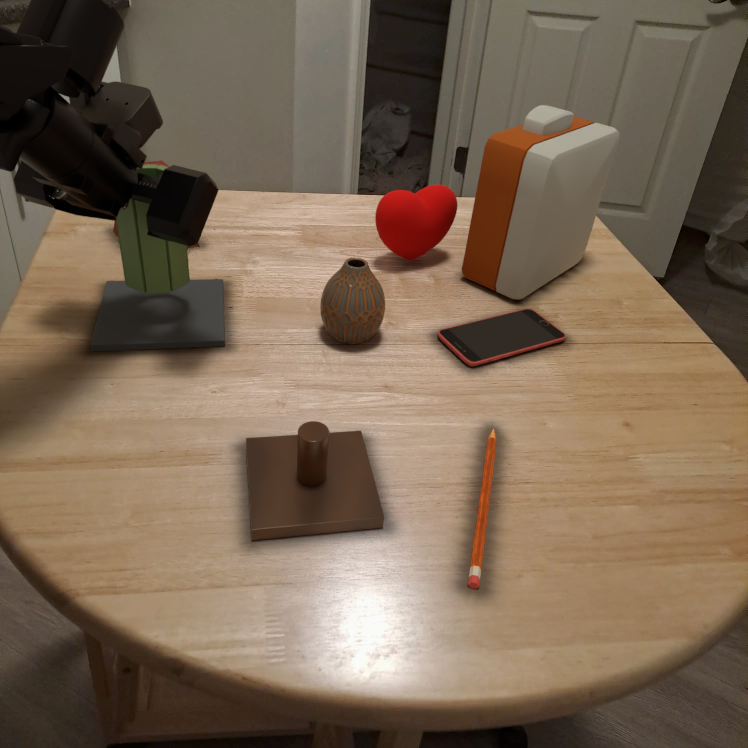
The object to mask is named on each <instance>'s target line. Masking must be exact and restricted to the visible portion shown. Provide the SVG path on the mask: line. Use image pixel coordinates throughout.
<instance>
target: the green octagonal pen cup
mask: <svg viewBox="0 0 748 748" xmlns="http://www.w3.org/2000/svg"><path fill="white" fill-rule="evenodd" d="M166 168H168V167H166V166H163V165H159V166H158V165H157V164H144V165H143V167H142V168H137V170H136V172H138V173H142V174H145V175H149V176H153V177H158V176H159V175H160V174H162V173H163V172H164V169H166ZM149 205H150V204H148V203H144V202H140V201H136V200H133V199H130V200H129V204H128V207H127V208H126V209H120V211H119V213H118V216H117V217H116V224H117V231H118V237H119V238H118V237H117V238H118V243H119V251H120V257H121V262H122V264H121V265H122V271H123V278H124V281H125V284H126V285H127V287H130V288H132V289H135V290H137V291H140V292H142V293H145V292H147V294H150V293H167V292H171V291H175V290H177V289H179V288H180V287H182V286H184V285H186V284H188V282H189V281H190V280H191V278H190V277H191V276H190V267H189V266H190V265H189V264H190V263H189V255H188V253H189V251H188V248H187V245H183V244H179V243H176V242H171V241H167V240H163V239H160V238H156V237H152V236H149V235H147V233H148V229H147V220H146V214H147V211H148V209H149ZM170 290H171V291H170Z"/></svg>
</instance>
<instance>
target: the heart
mask: <svg viewBox="0 0 748 748" xmlns="http://www.w3.org/2000/svg"><path fill="white" fill-rule="evenodd" d="M457 212H458V199H457V196H456V194H455V193H454V191H453V190H452V189H451V188H450V187H448V186H447V185H443V184H430V185H428V186H425V187H422V188H421V189H419V190H417V192H415V193H414V192H413V191H410V190H406V189H395V190H392V191H389V192H387V193H386V194H384V195H383V196H382V197H381V198H380V200H379V202H378V204H377V206H376V209H375V221H374V222H375V228H376V232H377V234H378V236H379V238H380V240H381V242H382V243H383V245H384V246H385V247H386V248H387V249H388V251H390V252H392V253H393V254H394V255H395V256H397V257H399V258H401V259H403V260H406V261H409V262H413V261H416V260H417V259H419V258H420V257H423V256H424V255H426V254H427V253H428V252H430V251H431V250H432V249H434V248H435V247H436V246H438V245H439V244H440V243H441V242H442V240H443V239H445V237H446V235H448V232H449V231H450V230H451V227H452V226H453V224H454V221H455V218H456V216H457Z"/></svg>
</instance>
